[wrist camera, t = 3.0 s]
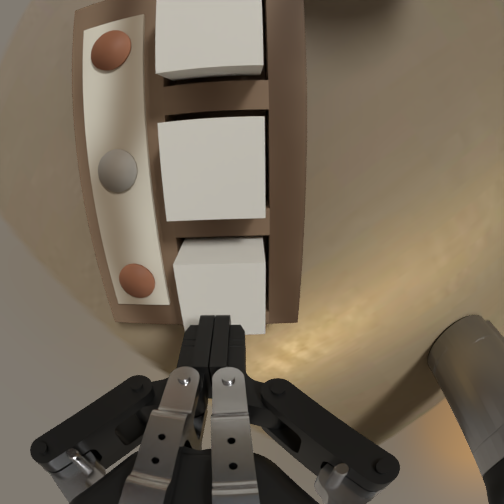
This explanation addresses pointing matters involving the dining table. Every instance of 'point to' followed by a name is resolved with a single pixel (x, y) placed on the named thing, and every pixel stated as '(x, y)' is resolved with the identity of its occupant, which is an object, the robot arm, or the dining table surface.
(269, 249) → the button panel
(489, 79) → the dining table surface
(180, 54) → the button
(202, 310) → the button
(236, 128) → the button
